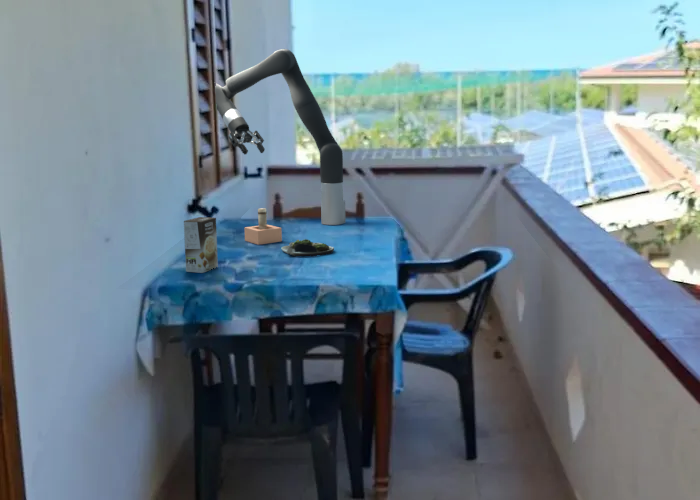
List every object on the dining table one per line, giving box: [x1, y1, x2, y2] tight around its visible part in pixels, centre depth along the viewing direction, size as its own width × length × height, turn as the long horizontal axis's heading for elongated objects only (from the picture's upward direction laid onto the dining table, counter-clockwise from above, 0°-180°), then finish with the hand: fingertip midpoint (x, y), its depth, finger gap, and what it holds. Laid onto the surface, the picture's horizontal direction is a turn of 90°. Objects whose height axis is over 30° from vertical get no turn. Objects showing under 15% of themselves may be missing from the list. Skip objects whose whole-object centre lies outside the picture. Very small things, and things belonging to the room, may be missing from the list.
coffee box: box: [183, 216, 219, 274], centre depth 246 cm, size 9×6×16 cm
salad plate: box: [281, 238, 335, 257], centre depth 274 cm, size 19×18×5 cm
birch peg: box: [257, 207, 268, 230], centre depth 292 cm, size 3×3×12 cm
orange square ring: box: [244, 224, 283, 246], centre depth 293 cm, size 10×10×5 cm
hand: (254, 152), depth 315 cm, fingers open, 8 cm apart
